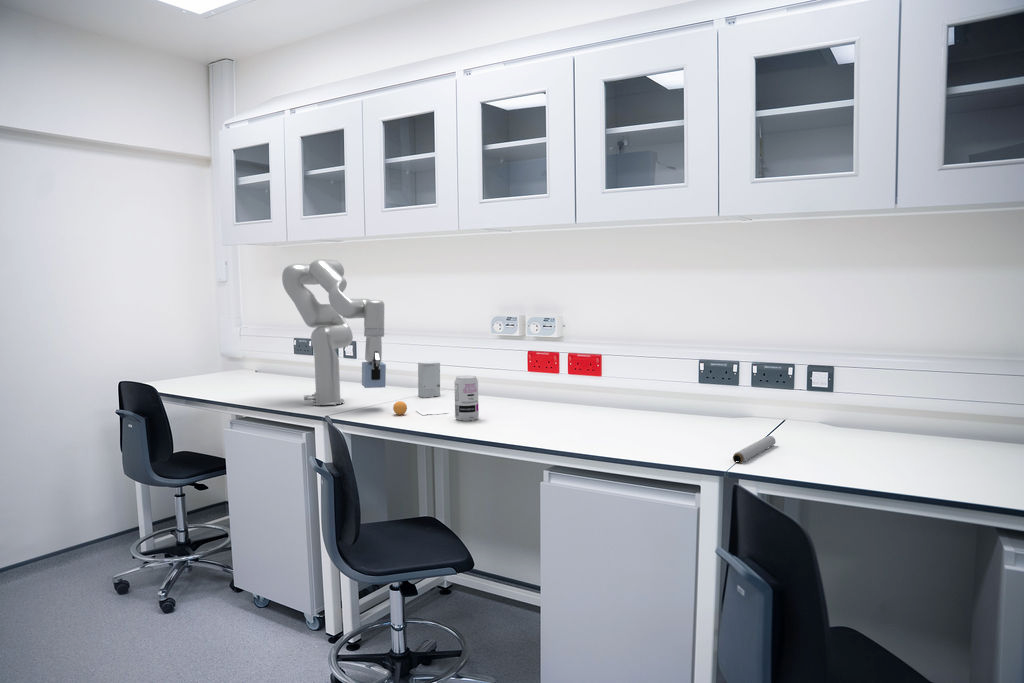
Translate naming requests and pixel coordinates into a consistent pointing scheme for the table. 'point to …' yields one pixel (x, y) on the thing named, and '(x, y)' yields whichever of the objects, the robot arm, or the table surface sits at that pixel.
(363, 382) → the light blue square block
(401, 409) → the ball
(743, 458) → the grey tube
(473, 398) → the supplement can
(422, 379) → the skincare box
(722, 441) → the table surface
